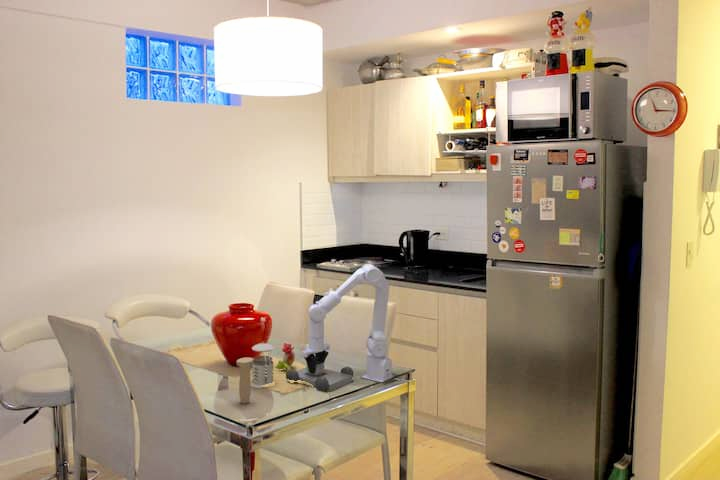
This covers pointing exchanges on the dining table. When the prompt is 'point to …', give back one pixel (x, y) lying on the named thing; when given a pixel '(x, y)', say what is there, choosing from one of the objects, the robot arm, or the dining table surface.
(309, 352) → the robot arm
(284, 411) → the dining table surface
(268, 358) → the french press
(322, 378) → the chassis
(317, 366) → the beige block
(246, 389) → the handle
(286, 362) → the bird rattle
